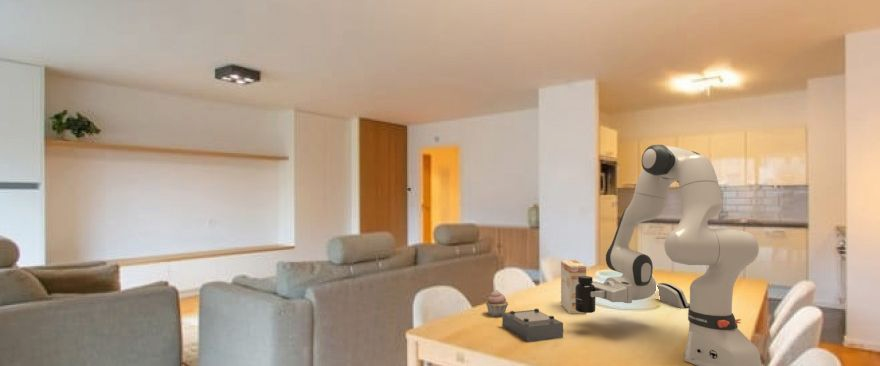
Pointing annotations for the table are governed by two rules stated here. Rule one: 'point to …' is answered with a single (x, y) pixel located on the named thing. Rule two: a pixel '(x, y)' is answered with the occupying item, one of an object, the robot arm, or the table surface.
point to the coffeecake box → (570, 283)
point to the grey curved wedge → (672, 295)
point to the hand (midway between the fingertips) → (583, 292)
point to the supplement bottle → (584, 295)
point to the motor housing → (532, 325)
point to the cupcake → (496, 304)
